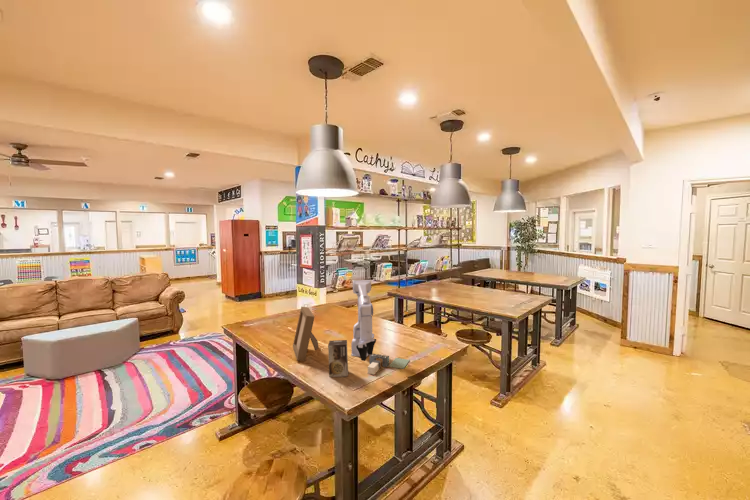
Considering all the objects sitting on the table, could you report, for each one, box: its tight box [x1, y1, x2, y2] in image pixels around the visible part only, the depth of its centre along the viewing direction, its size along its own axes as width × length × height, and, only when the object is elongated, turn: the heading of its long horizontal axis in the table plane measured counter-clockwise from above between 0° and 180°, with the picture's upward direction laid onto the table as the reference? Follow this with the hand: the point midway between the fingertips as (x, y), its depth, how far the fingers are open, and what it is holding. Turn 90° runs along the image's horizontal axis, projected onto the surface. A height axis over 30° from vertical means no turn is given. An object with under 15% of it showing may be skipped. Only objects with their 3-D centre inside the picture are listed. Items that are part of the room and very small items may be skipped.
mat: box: [388, 357, 410, 370], centre depth 167 cm, size 8×11×1 cm
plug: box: [367, 359, 381, 376], centre depth 159 cm, size 4×8×4 cm, turn 158°
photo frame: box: [292, 306, 319, 362], centre depth 183 cm, size 15×22×25 cm
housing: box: [368, 352, 390, 368], centre depth 166 cm, size 10×3×5 cm, turn 67°
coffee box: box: [327, 339, 349, 378], centre depth 156 cm, size 9×6×16 cm
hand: (366, 357), depth 151 cm, fingers open, 7 cm apart
